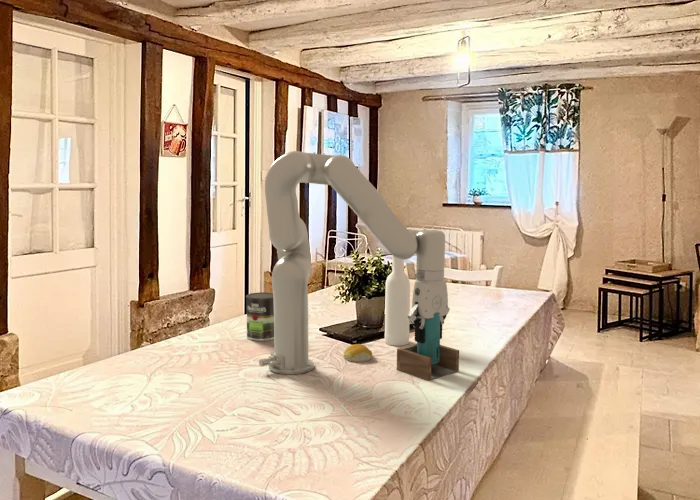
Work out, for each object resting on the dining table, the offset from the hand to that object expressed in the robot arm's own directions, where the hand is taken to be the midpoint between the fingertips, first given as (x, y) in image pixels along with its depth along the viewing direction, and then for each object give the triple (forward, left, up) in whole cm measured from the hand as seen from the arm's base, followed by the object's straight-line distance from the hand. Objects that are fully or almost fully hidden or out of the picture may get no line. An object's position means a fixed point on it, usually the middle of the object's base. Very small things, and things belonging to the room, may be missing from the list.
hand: (428, 339), depth 173 cm
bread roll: (-7, +21, -9) cm, 24 cm away
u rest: (0, 0, -9) cm, 9 cm away
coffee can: (-17, +59, -9) cm, 62 cm away
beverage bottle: (0, 0, -8) cm, 8 cm away
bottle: (+13, +26, -9) cm, 30 cm away
